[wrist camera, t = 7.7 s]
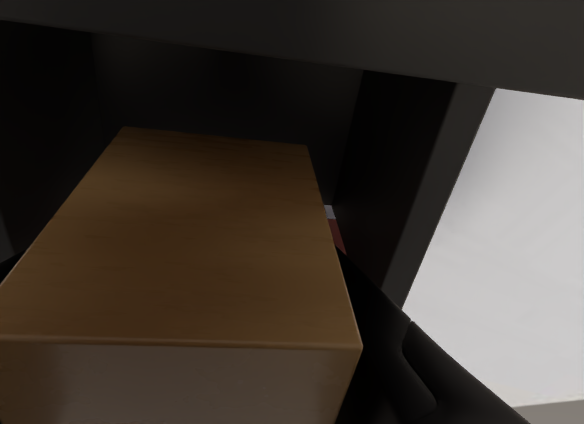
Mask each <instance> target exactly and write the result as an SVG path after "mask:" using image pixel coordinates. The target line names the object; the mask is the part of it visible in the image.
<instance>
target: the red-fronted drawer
mask: <svg viewBox="0 0 584 424" xmlns="http://www.w3.org/2000/svg"><path fill="white" fill-rule="evenodd" d="M495 89H496V88H493V87H485V86H478V85H471V84H464V83H456V82H449V81H442V80H434V79H427V78H420V77H413V76H405V75H398V74H391V73H383V72H376V71H369V70H362V69H354V68H347V67H340V66H332V65H325V64H318V63H311V62H303V61H296V60H289V59H281V58H274V57H267V56H260V55H252V54H245V53H238V52H230V51H223V50H216V49H209V48H201V47H194V46H187V45H179V44H172V43H165V42H158V41H150V40H143V39H136V38H128V37H121V36H114V35H107V34H99V33H92V32H85V31H77V30H70V29H63V28H56V27H48V26H41V25H34V24H26V23H19V22H12V21H5V20H0V263H1V262H3V261H5V260H7V259H8V258H10V257H12V256H14V255H16V254H18V253H19V252H21V251H23V250H25V249H27V248H29V247H30V245H31V244H32V243H33V242H34V240H35V239H36V238H37V236H38V235H39V234H40V233H41V231H42V230H43V229H44V227H45V226H46V225H47V224H48V222H49V221H50V220H51V218H52V217H53V216H54V215H55V213H56V212H57V211H58V209H59V208H60V207H61V206H62V204H63V203H64V202H65V200H66V199H67V198H68V197H69V195H70V194H71V193H72V191H73V190H74V189H75V188H76V186H77V185H78V184H79V182H80V181H81V180H82V179H83V177H84V176H85V175H86V173H87V172H88V171H89V170H90V168H91V167H92V166H93V164H94V163H95V162H96V161H97V159H98V158H99V157H100V155H101V154H102V153H103V152H104V150H105V149H106V148H107V146H108V145H109V144H110V143H111V141H112V140H113V139H114V137H115V136H116V135H117V134H118V132H119V131H120V130H121V128H122V127H124V126H127V127H137V128H147V129H156V130H166V131H175V132H185V133H195V134H204V135H214V136H223V137H233V138H243V139H252V140H262V141H271V142H281V143H290V144H300V145H306V146H307V148H308V152H309V156H310V159H311V163H312V166H313V170H314V173H315V177H316V180H317V184H318V188H319V191H320V195H321V198H322V202H323V205H332V209H333V212H334V215H335V218H336V219H327V220H328V223H329V227H330V230H331V234H332V237H333V241H334V244H335V245H336V246H337V247H338V248H339V249H340V250H341V251H342V252H343V253H344V254H345V255H346V256H347V257H348V258H349V259H350V260H351V261H352V262H353V263H354V264H355V265H356V266H357V267H358V268H359V269H360V270H361V271H363V272H364V273H365V274H366V275H367V276H368V277H369V278H370V279H371V280H372V281H373V282H374V283H375V284H376V285H377V286H378V287H379V288H380V289H381V290H382V291H383V292H384V293H385V294H386V295H387V296H388V297H389V298H390V299H391V300H392V301H393V302H394V303H395V304H396V305H397V306H398V307H399V308H400V309H401V310H402V307H403V305H404V303H405V300H406V298H407V296H408V293H409V291H410V289H411V286H412V284H413V281H414V279H415V277H416V274H417V272H418V270H419V267H420V265H421V263H422V260H423V258H424V256H425V253H426V251H427V249H428V246H429V244H430V242H431V239H432V237H433V235H434V232H435V230H436V228H437V225H438V223H439V220H440V218H441V216H442V213H443V211H444V209H445V206H446V204H447V202H448V199H449V197H450V195H451V192H452V190H453V188H454V185H455V183H456V181H457V178H458V176H459V174H460V171H461V169H462V167H463V164H464V162H465V160H466V157H467V155H468V152H469V150H470V148H471V145H472V143H473V141H474V138H475V136H476V134H477V131H478V129H479V127H480V124H481V122H482V120H483V117H484V115H485V113H486V110H487V108H488V106H489V103H490V101H491V99H492V96H493V94H494V92H495Z"/></svg>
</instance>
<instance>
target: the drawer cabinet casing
mask: <svg viewBox="0 0 584 424" xmlns="http://www.w3.org/2000/svg"><path fill="white" fill-rule="evenodd" d="M0 20H5V21H12V22H19V23H26V24H34V25H41V26H48V27H56V28H63V29H70V30H77V31H85V32H92V33H99V34H107V35H114V36H121V37H128V38H136V39H143V40H150V41H158V42H165V43H172V44H179V45H187V46H194V47H201V48H209V49H216V50H223V51H230V52H238V53H245V54H252V55H260V56H267V57H274V58H281V59H289V60H296V61H303V62H311V63H318V64H325V65H332V66H340V67H347V68H354V69H362V70H369V71H376V72H383V73H391V74H398V75H405V76H413V77H420V78H427V79H434V80H442V81H449V82H456V83H464V84H471V85H478V86H485V87H493V88H500V89H507V90H515V91H522V92H529V93H536V94H544V95H551V96H558V97H566V98H573V99H580V100H584V0H0Z"/></svg>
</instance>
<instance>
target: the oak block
mask: <svg viewBox="0 0 584 424" xmlns="http://www.w3.org/2000/svg"><path fill="white" fill-rule="evenodd" d="M362 350H363V344H362V341H361V337H360V333H359V330H358V326H357V323H356V319H355V316H354V312H353V309H352V305H351V301H350V298H349V294H348V291H347V287H346V284H345V280H344V277H343V273H342V269H341V266H340V262H339V259H338V255H337V252H336V248H335V245H334V241H333V237H332V234H331V230H330V227H329V223H328V220H327V216H326V212H325V209H324V205H323V202H322V198H321V195H320V191H319V188H318V184H317V180H316V177H315V173H314V170H313V166H312V163H311V159H310V156H309V152H308V148H307V146H306V145H300V144H290V143H281V142H271V141H262V140H252V139H243V138H233V137H223V136H214V135H204V134H195V133H185V132H175V131H166V130H156V129H147V128H137V127H127V126H124V127H122V128H121V130H120V131H119V132H118V134H117V135H116V136H115V137H114V139H113V140H112V141H111V143H110V144H109V145H108V146H107V148H106V149H105V150H104V152H103V153H102V154H101V155H100V157H99V158H98V159H97V161H96V162H95V163H94V164H93V166H92V167H91V168H90V170H89V171H88V172H87V173H86V175H85V176H84V177H83V179H82V180H81V181H80V182H79V184H78V185H77V186H76V188H75V189H74V190H73V191H72V193H71V194H70V195H69V197H68V198H67V199H66V200H65V202H64V203H63V204H62V206H61V207H60V208H59V209H58V211H57V212H56V213H55V215H54V216H53V217H52V218H51V220H50V221H49V222H48V224H47V225H46V226H45V227H44V229H43V230H42V231H41V233H40V234H39V235H38V236H37V238H36V239H35V240H34V242H33V243H32V244H31V245H30V247H29V248H28V249H27V251H26V252H25V253H24V254H23V256H22V257H21V258H20V260H19V261H18V262H17V263H16V265H15V266H14V267H13V269H12V270H11V271H10V272H9V274H8V275H7V276H6V278H5V279H4V280H3V281H2V283H1V284H0V423H1V424H335V421H336V419H337V416H338V413H339V411H340V408H341V405H342V403H343V400H344V397H345V395H346V392H347V390H348V387H349V384H350V382H351V379H352V376H353V374H354V371H355V368H356V366H357V363H358V360H359V358H360V355H361V353H362Z"/></svg>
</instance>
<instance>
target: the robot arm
mask: <svg viewBox="0 0 584 424" xmlns="http://www.w3.org/2000/svg"><path fill="white" fill-rule="evenodd" d="M334 245H335V244H334ZM335 248H336V252H337V255H338V259H339V262H340V266H341V269H342V273H343V277H344V280H345V284H346V287H347V291H348V294H349V298H350V301H351V305H352V309H353V312H354V316H355V319H356V323H357V326H358V330H359V333H360V337H361V341H362V344H363V350H362V353H361V355H360V358H359V360H358V363H357V366H356V368H355V371H354V374H353V376H352V379H351V382H350V384H349V387H348V390H347V392H346V395H345V397H344V400H343V403H342V405H341V408H340V411H339V413H338V416H337V419H336V421H335V424H530V423H529V422H528V421H527V420H525V419H524V418H523V417H522V416H521V415H519V414H518V413H517V412H516V411H515V410H513V409H512V408H511V407H510V406H509V405H507V404H506V403H505V402H504V401H503V400H501V399H500V398H499V397H498V396H497V395H495V394H494V393H493V392H492V391H491V390H490V389H488V388H487V387H486V386H485V385H484V384H482V383H481V382H480V381H479V380H478V379H476V378H475V377H474V376H473V375H472V374H470V373H469V372H468V371H467V370H466V369H465V368H463V367H462V366H461V365H460V364H459V363H458V362H456V361H455V360H454V359H453V358H452V357H451V356H450V355H448V354H447V353H446V352H445V351H444V350H443V349H442V348H441V347H440V346H439V345H438V344H436V343H435V342H434V341H433V340H432V339H431V338H430V337H429V336H428V335H427V334H426V333H425V332H424V331H423V330H422V329H421V328H420V327H419V326H418V325H417V324H416V323H415V322H413V321H411V319H410V318H409V317H408V316H407V315H406V314H405V313H404V312H403V311H402V310H401V309H400V308H399V307H398V306H397V305H396V304H395V303H394V302H393V301H392V300H391V299H390V298H389V297H388V296H387V295H386V294H385V293H384V292H383V291H382V290H381V289H380V288H379V287H378V286H377V285H376V284H375V283H374V282H373V281H372V280H371V279H370V278H369V277H368V276H367V275H366V274H365V273H364V272H363V271H361V270H360V269H359V268H358V267H357V266H356V265H355V264H354V263H353V262H352V261H351V260H350V259H349V258H348V257H347V256H346V255H345V254H344V253H343V252H342V251H341V250H340V249H339V248H338V247H337V246H336V245H335ZM27 249H28V248H27ZM27 249H25V250H23V251H21V252H19V253H18V254H16V255H14V256H12V257H10V258H8V259H7V260H5V261H3V262H1V263H0V284H1V283H2V281H3V280H4V279H5V278H6V276H7V275H8V274H9V272H10V271H11V270H12V269H13V267H14V266H15V265H16V263H17V262H18V261H19V260H20V258H21V257H22V256H23V254H24V253H25V252H26V251H27ZM410 321H411V322H410ZM0 424H1V423H0Z"/></svg>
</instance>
